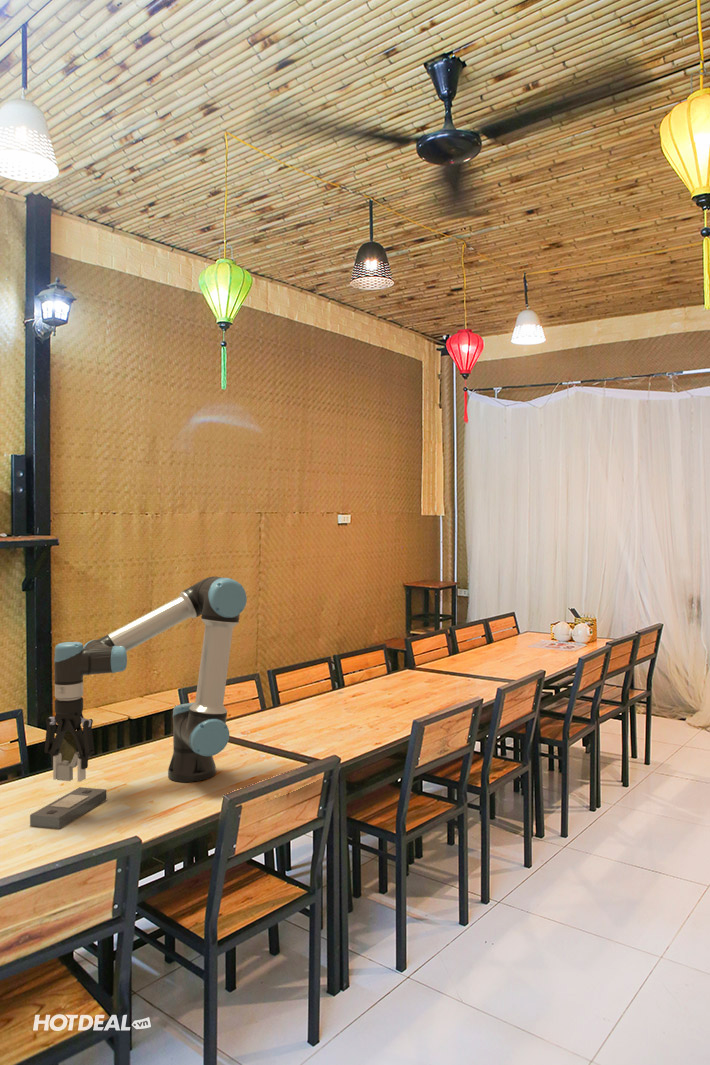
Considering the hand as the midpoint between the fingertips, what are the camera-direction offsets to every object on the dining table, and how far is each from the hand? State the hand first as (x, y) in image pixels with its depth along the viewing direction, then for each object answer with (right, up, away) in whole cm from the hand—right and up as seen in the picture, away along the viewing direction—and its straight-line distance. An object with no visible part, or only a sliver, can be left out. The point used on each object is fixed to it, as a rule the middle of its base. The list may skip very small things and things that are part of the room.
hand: (69, 778), depth 209 cm
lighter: (0, 0, 0) cm, 0 cm away
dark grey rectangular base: (0, -9, 0) cm, 9 cm away
